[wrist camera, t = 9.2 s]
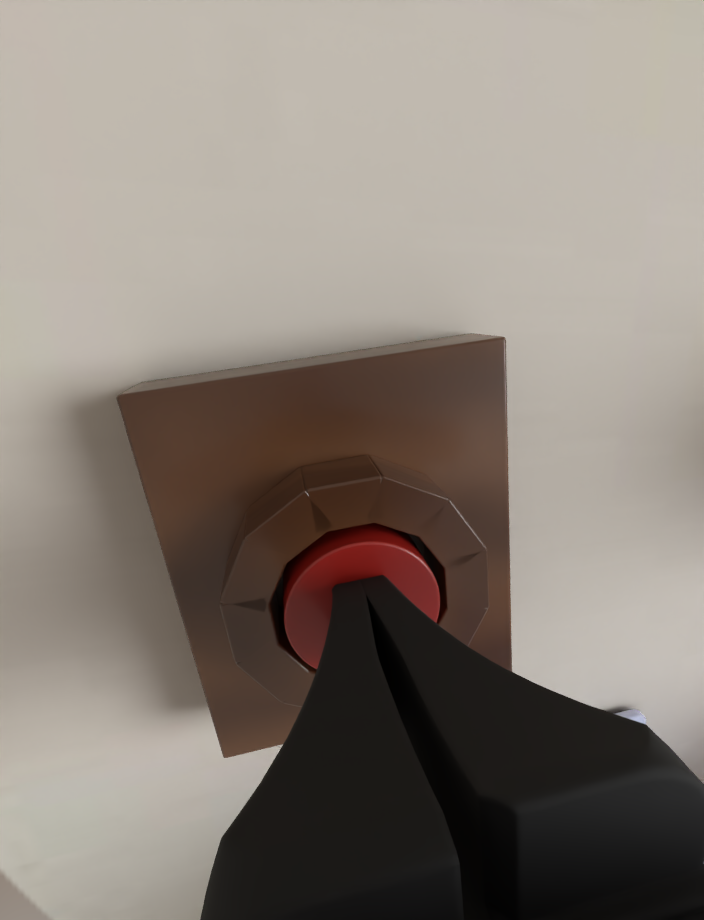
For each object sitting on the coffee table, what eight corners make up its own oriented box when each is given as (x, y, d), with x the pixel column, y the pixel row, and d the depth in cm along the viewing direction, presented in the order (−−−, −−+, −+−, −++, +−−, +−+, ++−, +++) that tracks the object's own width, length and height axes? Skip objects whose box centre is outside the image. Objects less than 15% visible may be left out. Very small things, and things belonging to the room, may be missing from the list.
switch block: (485, 646, 18) (541, 733, 14) (229, 705, 17) (217, 817, 13) (473, 332, 14) (544, 340, 10) (139, 382, 13) (85, 410, 9)
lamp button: (425, 619, 14) (445, 660, 12) (295, 648, 14) (298, 694, 12) (414, 500, 13) (435, 527, 11) (270, 527, 12) (270, 560, 11)
